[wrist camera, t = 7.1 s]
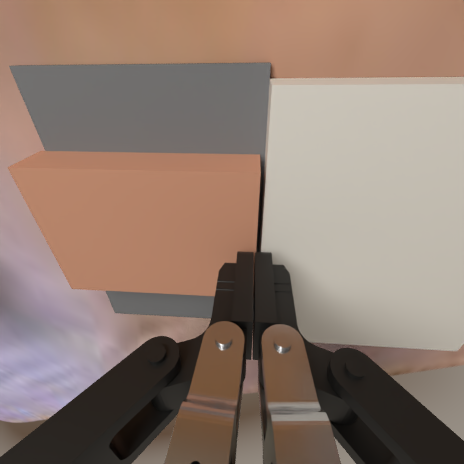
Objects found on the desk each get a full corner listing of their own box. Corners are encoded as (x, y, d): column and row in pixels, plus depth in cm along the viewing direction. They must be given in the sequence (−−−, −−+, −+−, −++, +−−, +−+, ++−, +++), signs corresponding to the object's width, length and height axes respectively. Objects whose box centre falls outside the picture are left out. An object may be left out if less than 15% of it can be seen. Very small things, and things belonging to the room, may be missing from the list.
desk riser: (616, 75, 9) (694, 82, 8) (437, 322, 17) (457, 351, 16) (269, 78, 10) (272, 84, 8) (255, 312, 18) (255, 339, 16)
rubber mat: (270, 62, 10) (270, 63, 9) (255, 317, 18) (254, 320, 18) (14, 65, 10) (9, 66, 10) (116, 309, 19) (115, 313, 19)
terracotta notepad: (260, 154, 11) (260, 173, 10) (253, 271, 15) (253, 298, 14) (41, 150, 12) (7, 167, 10) (90, 264, 16) (71, 288, 14)
